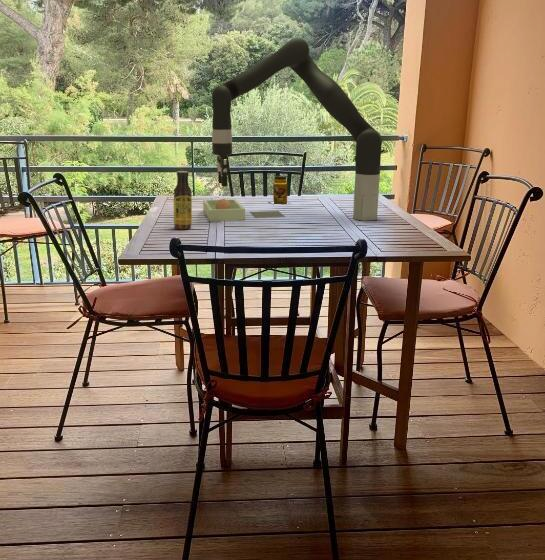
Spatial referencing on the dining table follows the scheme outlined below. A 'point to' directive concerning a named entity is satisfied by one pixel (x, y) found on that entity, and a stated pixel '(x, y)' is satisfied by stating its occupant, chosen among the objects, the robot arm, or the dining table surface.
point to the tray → (223, 211)
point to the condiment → (280, 190)
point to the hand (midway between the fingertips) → (222, 184)
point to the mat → (267, 214)
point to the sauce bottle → (182, 202)
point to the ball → (223, 204)
